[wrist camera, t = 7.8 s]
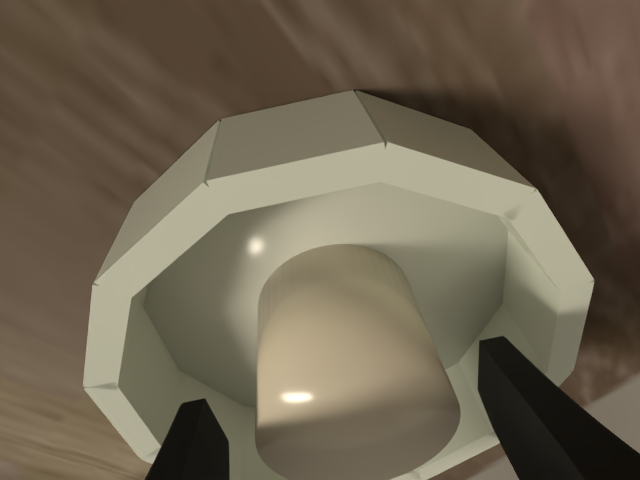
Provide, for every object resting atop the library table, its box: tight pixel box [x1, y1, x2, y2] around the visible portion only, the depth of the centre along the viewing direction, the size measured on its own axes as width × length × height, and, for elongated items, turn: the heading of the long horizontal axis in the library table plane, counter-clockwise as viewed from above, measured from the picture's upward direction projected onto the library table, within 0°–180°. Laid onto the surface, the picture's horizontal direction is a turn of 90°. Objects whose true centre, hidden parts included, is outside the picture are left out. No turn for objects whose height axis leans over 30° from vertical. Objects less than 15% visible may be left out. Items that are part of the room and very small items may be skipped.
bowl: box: [83, 90, 594, 480], centre depth 13 cm, size 13×13×4 cm
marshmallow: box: [255, 244, 461, 480], centre depth 12 cm, size 5×5×4 cm
